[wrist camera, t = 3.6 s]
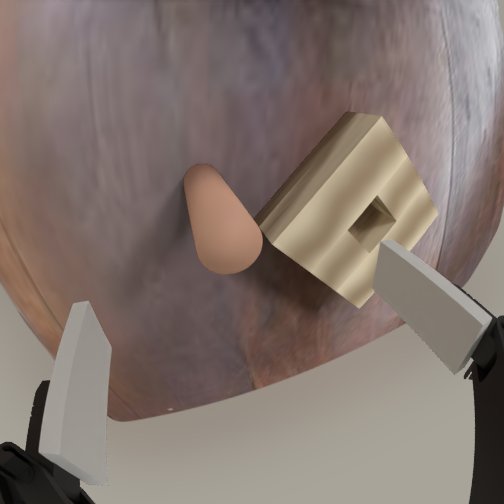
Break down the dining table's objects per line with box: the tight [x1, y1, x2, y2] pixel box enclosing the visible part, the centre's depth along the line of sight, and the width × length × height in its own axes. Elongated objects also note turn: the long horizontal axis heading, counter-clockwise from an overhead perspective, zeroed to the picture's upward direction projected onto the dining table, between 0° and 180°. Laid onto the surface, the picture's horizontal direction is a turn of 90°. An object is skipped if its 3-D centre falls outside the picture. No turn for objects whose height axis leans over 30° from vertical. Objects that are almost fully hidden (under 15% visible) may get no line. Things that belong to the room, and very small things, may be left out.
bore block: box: [254, 112, 438, 308], centre depth 30 cm, size 16×16×6 cm
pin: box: [183, 164, 263, 274], centre depth 21 cm, size 4×4×14 cm
